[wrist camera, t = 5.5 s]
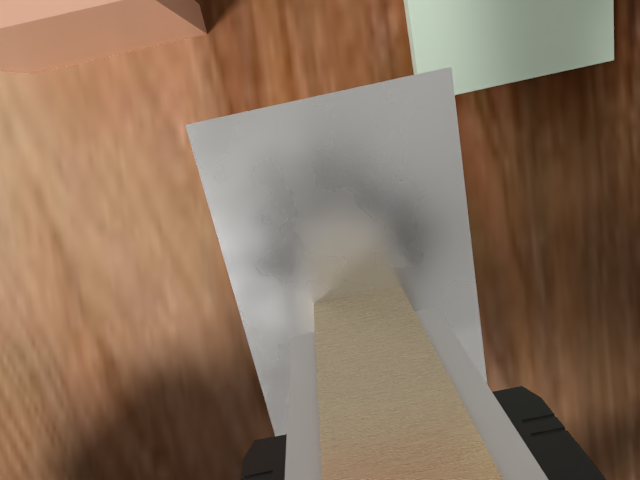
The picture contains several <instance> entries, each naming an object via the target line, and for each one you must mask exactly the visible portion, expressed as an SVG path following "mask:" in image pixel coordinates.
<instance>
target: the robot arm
mask: <svg viewBox="0 0 640 480" xmlns="http://www.w3.org/2000/svg"><path fill="white" fill-rule="evenodd" d="M415 313H416V315H417V317H418V319H419V321H420V323H421V325H422V327H423V328H424V330H425V332H426V334H427V336H428V338H429V340H430V342H431V344H432V345H433V347H434V349H435V351H436V353H437V355H438V357H439V359H440V361H441V363H442V364H443V366H444V368H445V370H446V372H447V374H448V376H449V378H450V380H451V382H452V383H453V385H454V387H455V389H456V391H457V393H458V395H459V397H460V399H461V400H462V402H463V404H464V406H465V408H466V410H467V412H468V414H469V416H470V418H471V419H472V421H473V423H474V425H475V427H476V429H477V431H478V433H479V435H480V437H481V438H482V440H483V442H484V444H485V446H486V448H487V450H488V452H489V454H490V455H491V457H492V459H493V461H494V463H495V465H496V467H497V469H498V471H499V473H500V474H501V476H502V478H503V480H606V479H605V477H604V476H603V475H602V474H601V472H600V471H599V470H598V469H597V467H596V466H595V465H594V464H593V462H592V461H591V460H590V459H589V457H588V456H587V455H586V454H585V452H584V451H583V450H582V448H581V447H580V446H579V445H578V443H577V442H576V441H575V440H574V438H573V437H572V436H571V435H570V433H569V432H568V431H566V430H565V427H564V426H563V425H562V423H561V422H560V421H559V420H558V418H557V417H555V416H554V413H553V412H552V411H551V410H550V408H549V407H548V406H547V405H546V403H545V402H544V401H543V399H542V398H540V397H539V396H537V395H536V394H534V393H532V392H531V391H529V390H527V389H526V388H524V387H523V386H520V387H515V388H510V389H505V390H500V391H495V392H492V391H491V390H490V388H489V387H488V385H487V383H486V382H485V380H484V379H483V377H482V376H481V374H480V373H479V371H478V370H477V368H476V366H475V365H474V363H473V362H472V360H471V359H470V357H469V356H468V354H467V352H466V351H465V349H464V348H463V346H462V345H461V343H460V342H459V340H458V338H457V337H456V335H455V334H454V332H453V331H452V329H451V328H450V326H449V324H448V323H447V321H446V320H445V318H444V317H443V315H442V314H441V312H440V310H439V309H438V307H434V308H429V309H425V310H420V311H415ZM241 480H322V463H321V443H320V423H319V403H318V384H317V364H316V344H315V332H312V333H307V334H302V335H297V336H292V337H291V357H290V377H289V398H288V419H287V434H285V435H280V436H275V437H270V438H265V439H260V440H255V441H254V443H253V444H252V446H251V448H250V449H249V451H248V452H247V454H246V456H245V457H244V461H243V467H242V474H241Z"/></svg>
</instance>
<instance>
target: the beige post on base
mask: <svg viewBox="0 0 640 480" xmlns="http://www.w3.org/2000/svg"><path fill="white" fill-rule="evenodd" d="M185 126H186V129H187V133H188V136H189V140H190V143H191V146H192V150H193V153H194V157H195V160H196V164H197V167H198V171H199V174H200V178H201V181H202V185H203V188H204V191H205V195H206V198H207V202H208V205H209V209H210V212H211V216H212V219H213V223H214V226H215V229H216V233H217V236H218V240H219V243H220V247H221V250H222V254H223V257H224V261H225V264H226V267H227V271H228V274H229V278H230V281H231V285H232V288H233V292H234V295H235V299H236V302H237V305H238V309H239V312H240V316H241V319H242V323H243V326H244V330H245V333H246V337H247V340H248V343H249V347H250V350H251V354H252V357H253V361H254V364H255V368H256V371H257V375H258V378H259V381H260V385H261V388H262V392H263V395H264V399H265V402H266V406H267V409H268V413H269V416H270V419H271V423H272V426H273V430H274V433H275V436H280V435H285V434H287V419H288V398H289V377H290V357H291V337H292V336H297V335H302V334H307V333H312V332H315V344H316V364H317V384H318V403H319V423H320V443H321V463H322V480H503V478H502V476H501V474H500V473H499V471H498V469H497V467H496V465H495V463H494V461H493V459H492V457H491V455H490V454H489V452H488V450H487V448H486V446H485V444H484V442H483V440H482V438H481V437H480V435H479V433H478V431H477V429H476V427H475V425H474V423H473V421H472V419H471V418H470V416H469V414H468V412H467V410H466V408H465V406H464V404H463V402H462V400H461V399H460V397H459V395H458V393H457V391H456V389H455V387H454V385H453V383H452V382H451V380H450V378H449V376H448V374H447V372H446V370H445V368H444V366H443V364H442V363H441V361H440V359H439V357H438V355H437V353H436V351H435V349H434V347H433V345H432V344H431V342H430V340H429V338H428V336H427V334H426V332H425V330H424V328H423V327H422V325H421V323H420V321H419V319H418V317H417V315H416V313H415V311H420V310H425V309H429V308H434V307H438V309H439V310H440V312H441V314H442V315H443V317H444V318H445V320H446V321H447V323H448V324H449V326H450V328H451V329H452V331H453V332H454V334H455V335H456V337H457V338H458V340H459V342H460V343H461V345H462V346H463V348H464V349H465V351H466V352H467V354H468V356H469V357H470V359H471V360H472V362H473V363H474V365H475V366H476V368H477V370H478V371H479V373H480V374H481V376H482V377H483V379H484V380H485V382H486V383H487V377H486V368H485V359H484V350H483V341H482V332H481V324H480V315H479V306H478V297H477V288H476V279H475V271H474V262H473V253H472V244H471V235H470V226H469V218H468V209H467V200H466V191H465V182H464V173H463V164H462V156H461V147H460V138H459V129H458V120H457V111H456V103H455V94H454V85H453V76H452V67H448V68H443V69H439V70H434V71H430V72H425V73H420V74H416V75H411V76H407V77H402V78H398V79H393V80H388V81H384V82H379V83H375V84H370V85H366V86H361V87H356V88H352V89H347V90H343V91H338V92H334V93H329V94H324V95H320V96H315V97H311V98H306V99H302V100H297V101H292V102H288V103H283V104H279V105H274V106H270V107H265V108H260V109H256V110H251V111H247V112H242V113H237V114H233V115H228V116H224V117H219V118H215V119H210V120H205V121H201V122H196V123H192V124H187V125H185Z"/></svg>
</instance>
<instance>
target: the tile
mask: <svg viewBox="0 0 640 480" xmlns="http://www.w3.org/2000/svg"><path fill="white" fill-rule="evenodd" d="M206 34H207V31H206V27H205V23H204V20H203V16H202V12H201V8H200V4H198V3H197V2H196V1H195V0H0V71H4V72H15V73H26V74H34V73H39V72H43V71H48V70H52V69H56V68H61V67H65V66H70V65H74V64H79V63H83V62H87V61H92V60H96V59H101V58H105V57H109V56H114V55H118V54H123V53H127V52H131V51H136V50H140V49H145V48H149V47H153V46H158V45H162V44H167V43H171V42H176V41H180V40H184V39H189V38H193V37H198V36H202V35H206Z"/></svg>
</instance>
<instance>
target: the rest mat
mask: <svg viewBox="0 0 640 480" xmlns="http://www.w3.org/2000/svg"><path fill="white" fill-rule="evenodd" d="M404 6H405V14H406V21H407V28H408V35H409V43H410V50H411V57H412V64H413V71H414V75H416V74H420V73H425V72H430V71H434V70H439V69H443V68H448V67H452V76H453V85H454V94H455V95H457V94H462V93H466V92H471V91H475V90H480V89H485V88H489V87H494V86H498V85H503V84H507V83H512V82H517V81H521V80H526V79H530V78H535V77H539V76H544V75H549V74H553V73H558V72H562V71H567V70H571V69H576V68H581V67H585V66H590V65H594V64H599V63H603V62H608V61H612V60H614V4H613V0H404Z"/></svg>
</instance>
